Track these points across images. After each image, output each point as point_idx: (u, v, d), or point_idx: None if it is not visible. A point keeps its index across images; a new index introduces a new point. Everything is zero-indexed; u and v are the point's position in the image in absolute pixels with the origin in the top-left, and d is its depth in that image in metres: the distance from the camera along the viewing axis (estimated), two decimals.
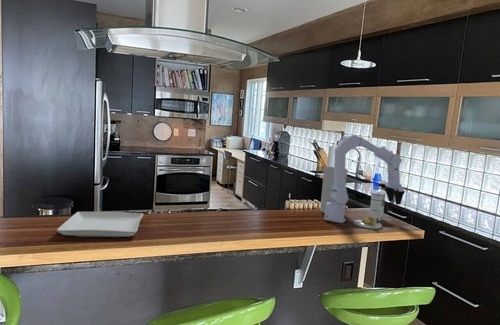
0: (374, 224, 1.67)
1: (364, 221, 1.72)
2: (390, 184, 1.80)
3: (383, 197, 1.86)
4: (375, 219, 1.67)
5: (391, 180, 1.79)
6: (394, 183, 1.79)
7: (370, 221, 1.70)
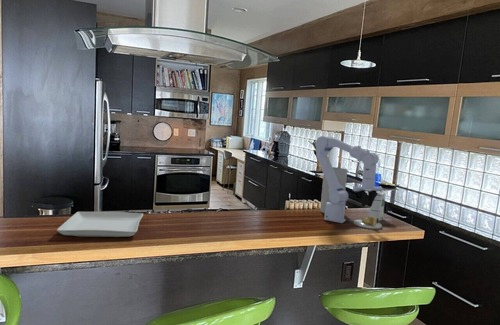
0: (374, 224, 1.67)
1: (364, 221, 1.72)
2: None
3: (383, 197, 1.86)
4: (375, 219, 1.67)
5: None
6: (362, 183, 1.68)
7: (370, 221, 1.70)
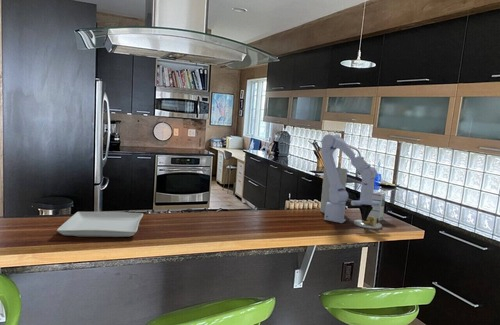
0: (374, 224, 1.67)
1: (364, 221, 1.72)
2: None
3: (383, 197, 1.86)
4: (375, 219, 1.67)
5: None
6: (360, 198, 1.69)
7: (370, 221, 1.70)
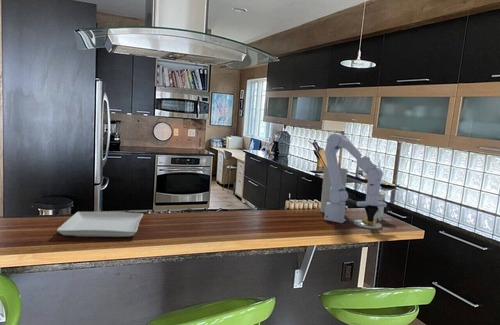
0: (374, 224, 1.67)
1: (364, 221, 1.72)
2: None
3: (383, 197, 1.86)
4: (375, 219, 1.67)
5: None
6: (366, 198, 1.68)
7: None
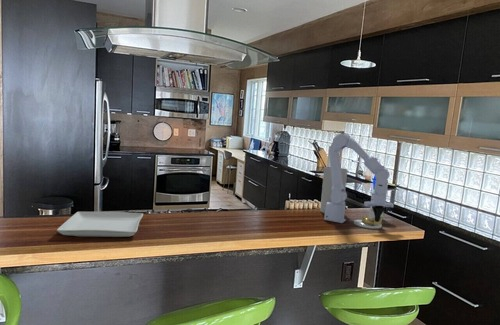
0: None
1: (369, 222, 1.70)
2: None
3: None
4: (381, 218, 1.71)
5: None
6: (373, 199, 1.69)
7: (374, 220, 1.71)
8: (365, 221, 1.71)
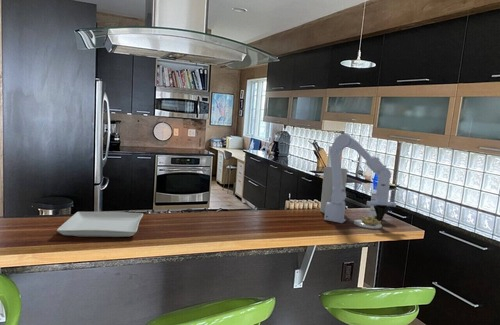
0: None
1: (372, 222, 1.71)
2: None
3: None
4: None
5: None
6: None
7: (375, 220, 1.73)
8: (368, 222, 1.70)
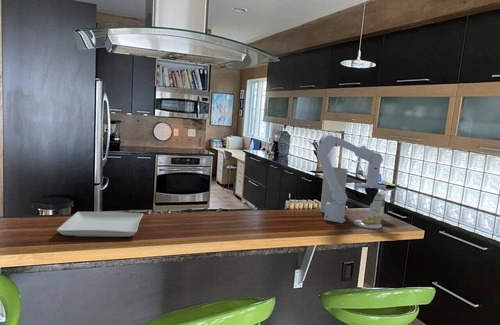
0: None
1: (372, 222, 1.71)
2: None
3: (383, 197, 1.86)
4: None
5: None
6: (366, 181, 1.78)
7: (375, 220, 1.73)
8: (368, 222, 1.70)
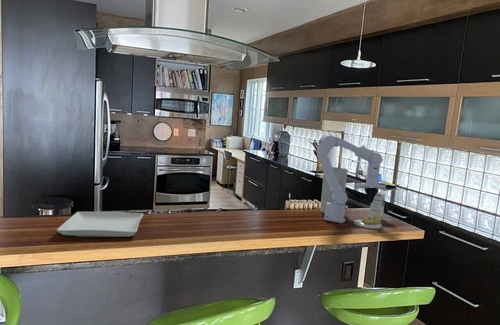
0: None
1: (372, 222, 1.71)
2: None
3: (383, 197, 1.86)
4: None
5: None
6: (366, 181, 1.78)
7: (375, 220, 1.73)
8: (368, 222, 1.70)
